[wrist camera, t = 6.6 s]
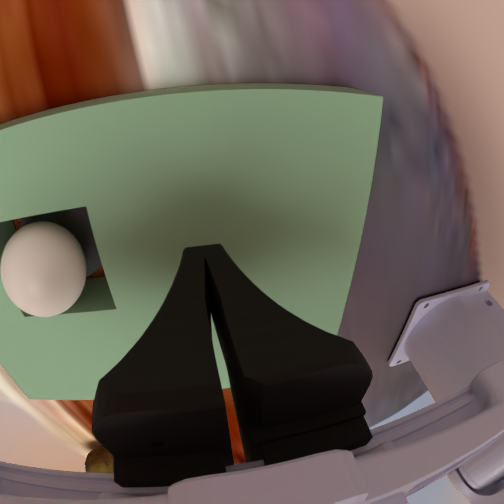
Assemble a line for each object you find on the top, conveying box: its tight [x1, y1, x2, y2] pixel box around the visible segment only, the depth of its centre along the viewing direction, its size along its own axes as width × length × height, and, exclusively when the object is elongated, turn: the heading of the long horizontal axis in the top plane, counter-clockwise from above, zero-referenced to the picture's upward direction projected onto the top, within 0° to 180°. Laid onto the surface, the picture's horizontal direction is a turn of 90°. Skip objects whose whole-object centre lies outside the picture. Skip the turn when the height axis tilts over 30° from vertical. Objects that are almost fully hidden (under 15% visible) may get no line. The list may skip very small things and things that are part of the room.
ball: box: [0, 221, 87, 317], centre depth 11 cm, size 4×4×4 cm
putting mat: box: [0, 83, 383, 400], centre depth 14 cm, size 20×16×2 cm
